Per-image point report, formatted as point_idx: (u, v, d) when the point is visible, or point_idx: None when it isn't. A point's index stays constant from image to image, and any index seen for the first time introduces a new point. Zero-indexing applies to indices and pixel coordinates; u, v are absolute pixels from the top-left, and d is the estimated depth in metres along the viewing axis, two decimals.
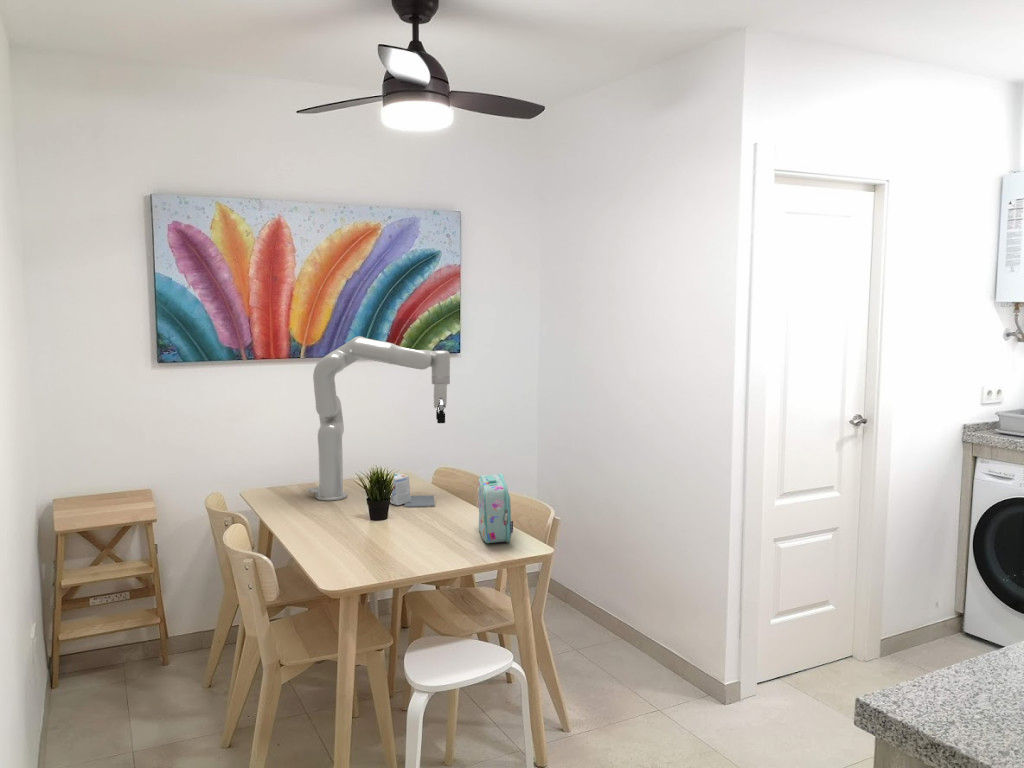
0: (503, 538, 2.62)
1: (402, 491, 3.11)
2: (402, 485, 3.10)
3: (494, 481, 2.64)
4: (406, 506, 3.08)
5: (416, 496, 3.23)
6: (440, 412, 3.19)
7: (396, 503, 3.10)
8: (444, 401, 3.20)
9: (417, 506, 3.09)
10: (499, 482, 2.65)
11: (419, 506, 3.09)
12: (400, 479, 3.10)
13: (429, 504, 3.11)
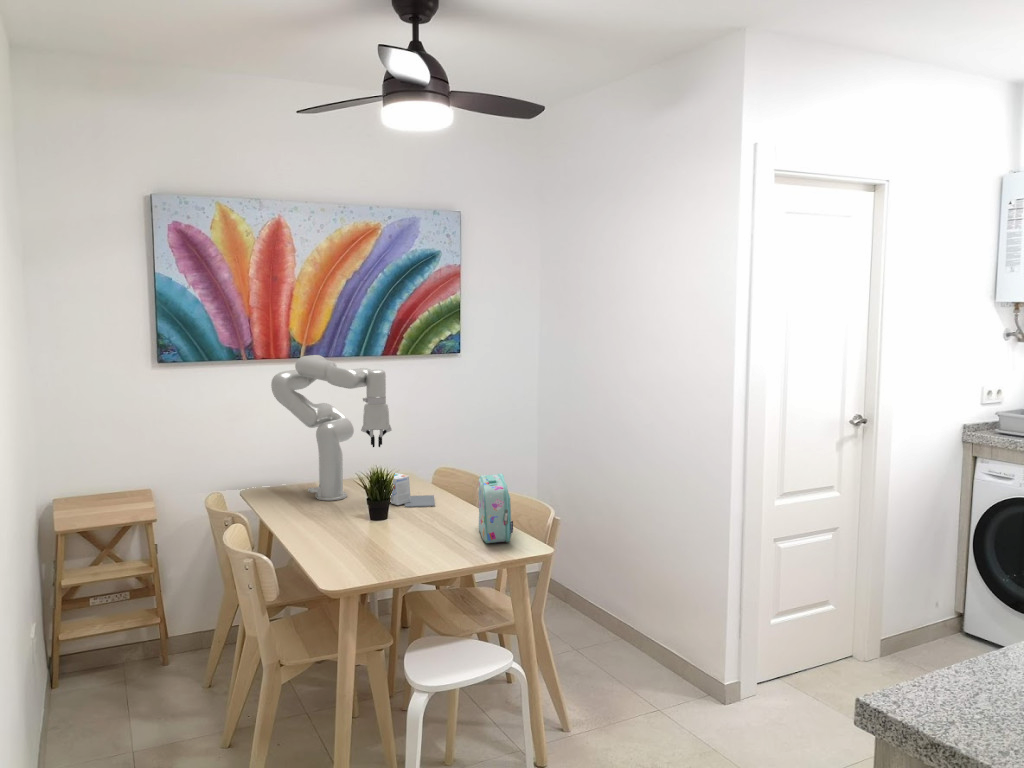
0: (503, 538, 2.62)
1: (402, 491, 3.11)
2: (402, 485, 3.11)
3: (494, 481, 2.64)
4: (406, 506, 3.08)
5: (416, 496, 3.23)
6: None
7: (396, 503, 3.10)
8: None
9: (417, 506, 3.09)
10: (499, 482, 2.65)
11: (419, 506, 3.09)
12: (400, 479, 3.10)
13: (429, 504, 3.11)
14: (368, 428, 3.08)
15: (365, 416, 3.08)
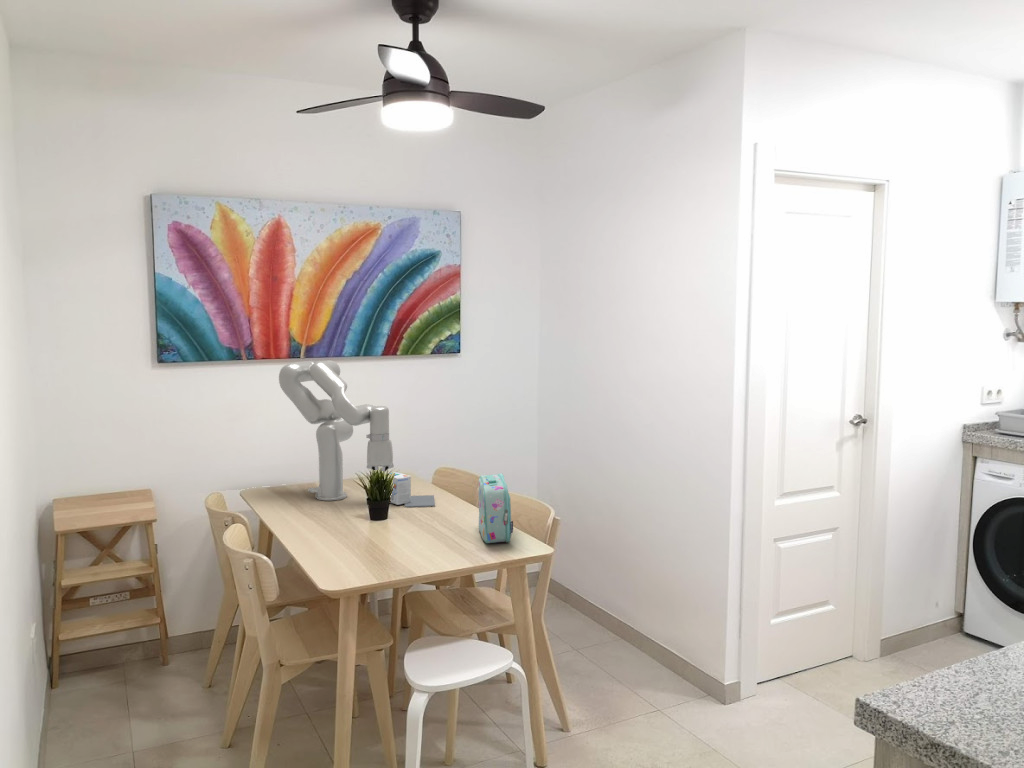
0: (503, 538, 2.62)
1: (403, 491, 3.11)
2: (403, 485, 3.11)
3: (494, 481, 2.64)
4: (406, 506, 3.08)
5: (416, 496, 3.23)
6: None
7: (396, 502, 3.10)
8: None
9: (417, 506, 3.09)
10: (499, 482, 2.65)
11: (419, 506, 3.09)
12: (401, 478, 3.10)
13: (429, 504, 3.11)
14: (372, 465, 3.10)
15: (369, 453, 3.09)
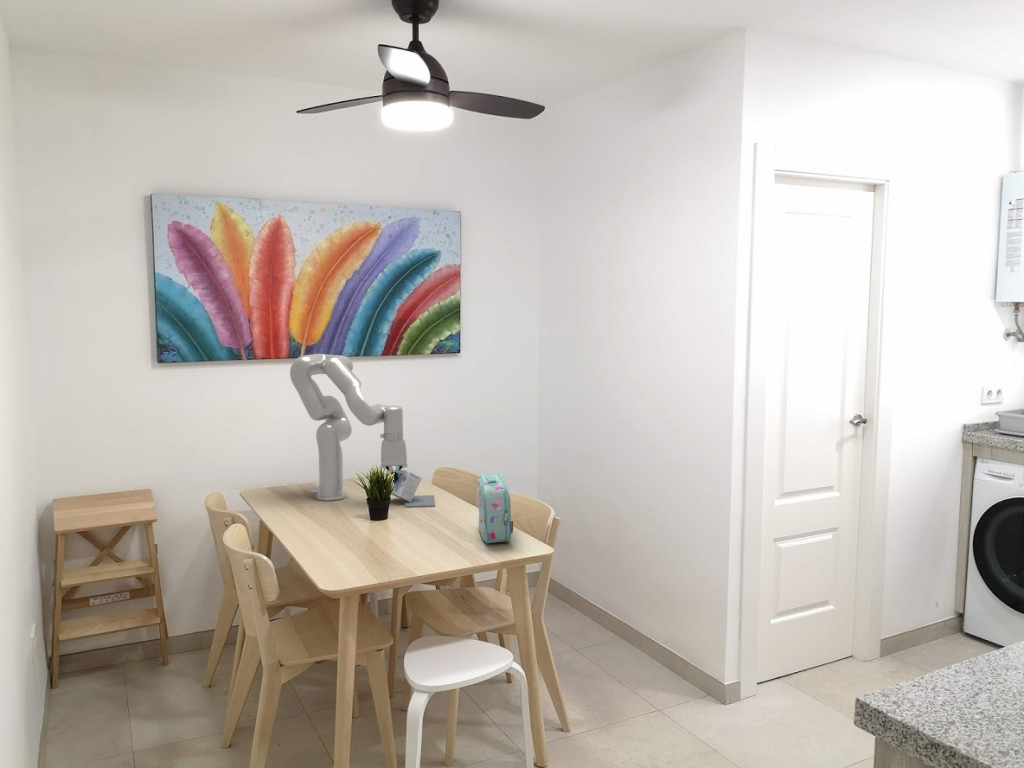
0: (503, 538, 2.62)
1: (410, 487, 3.13)
2: (413, 481, 3.13)
3: (494, 481, 2.64)
4: (406, 506, 3.08)
5: (416, 496, 3.23)
6: (399, 470, 3.14)
7: (399, 494, 3.11)
8: None
9: (417, 506, 3.09)
10: (499, 482, 2.65)
11: (419, 506, 3.09)
12: (414, 474, 3.14)
13: (429, 504, 3.11)
14: (386, 464, 3.11)
15: (383, 452, 3.10)
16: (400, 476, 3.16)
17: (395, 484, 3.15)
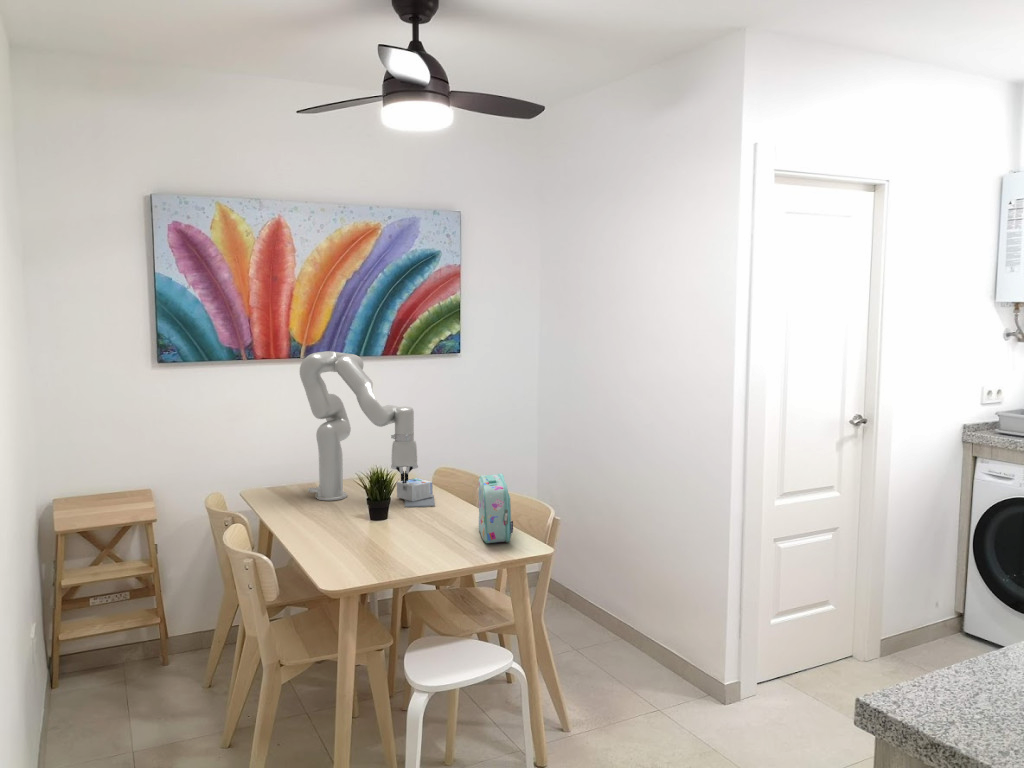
0: (503, 538, 2.62)
1: (422, 490, 3.17)
2: (427, 490, 3.19)
3: (494, 481, 2.64)
4: (406, 506, 3.08)
5: None
6: (409, 471, 3.15)
7: (412, 485, 3.14)
8: None
9: (417, 506, 3.09)
10: (499, 482, 2.65)
11: (419, 506, 3.09)
12: (432, 487, 3.21)
13: (429, 504, 3.11)
14: (396, 465, 3.11)
15: (393, 453, 3.11)
16: (418, 480, 3.23)
17: (411, 481, 3.20)
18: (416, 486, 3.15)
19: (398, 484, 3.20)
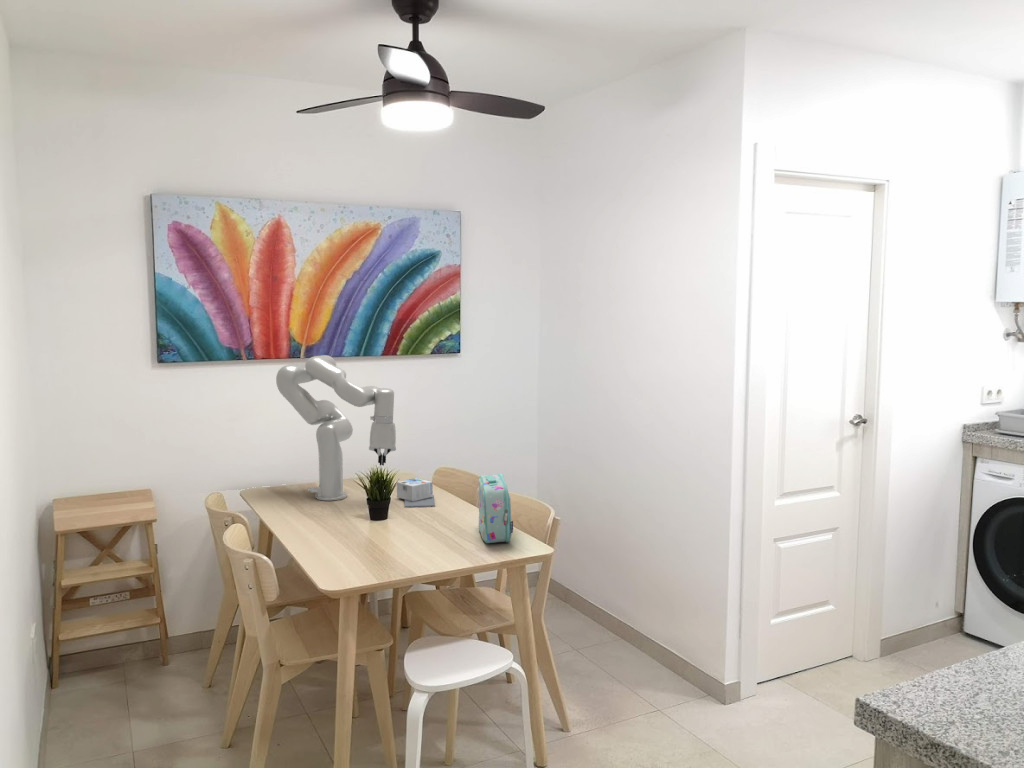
0: (503, 538, 2.62)
1: (422, 490, 3.17)
2: (427, 490, 3.19)
3: (494, 481, 2.64)
4: (406, 506, 3.08)
5: None
6: (387, 453, 3.13)
7: (412, 485, 3.14)
8: None
9: (417, 506, 3.09)
10: (499, 482, 2.65)
11: (419, 506, 3.09)
12: (432, 487, 3.21)
13: (429, 504, 3.11)
14: (374, 447, 3.10)
15: (372, 435, 3.09)
16: (418, 480, 3.23)
17: (411, 481, 3.20)
18: (416, 486, 3.15)
19: (398, 484, 3.20)
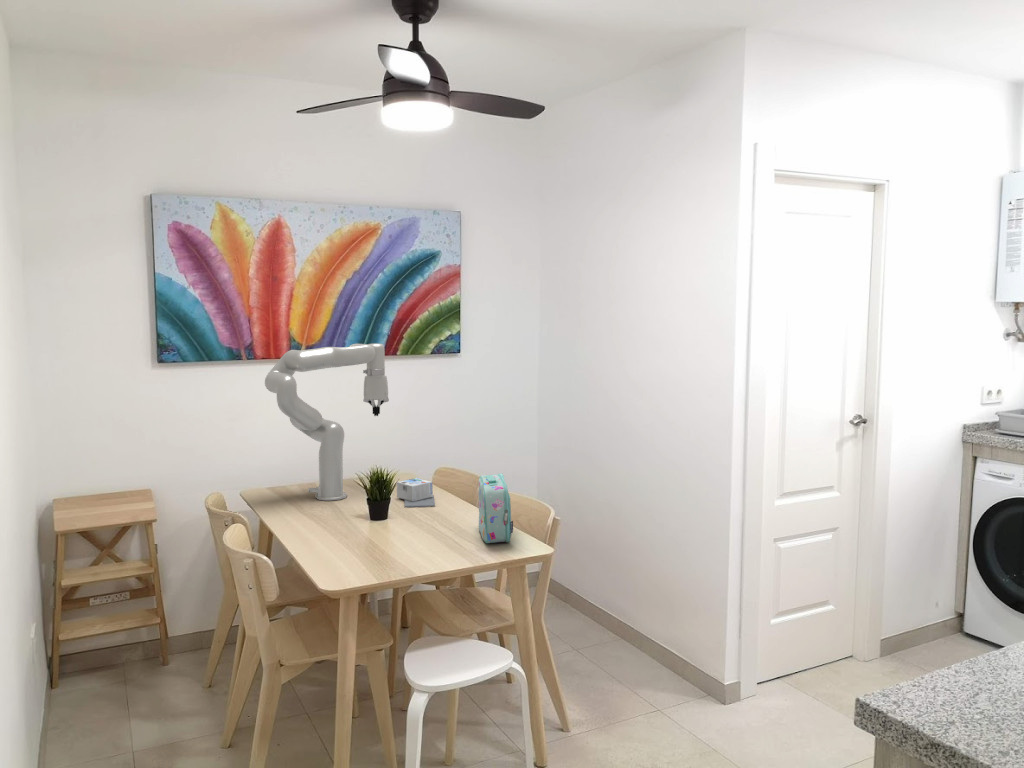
0: (503, 538, 2.62)
1: (422, 490, 3.17)
2: (427, 490, 3.19)
3: (494, 481, 2.64)
4: (406, 506, 3.08)
5: None
6: (381, 404, 3.33)
7: (412, 485, 3.14)
8: None
9: (417, 506, 3.09)
10: (499, 482, 2.65)
11: (419, 506, 3.09)
12: (432, 487, 3.21)
13: (429, 504, 3.11)
14: (368, 398, 3.29)
15: (365, 387, 3.29)
16: (418, 480, 3.23)
17: (411, 481, 3.20)
18: (416, 486, 3.15)
19: (398, 484, 3.20)
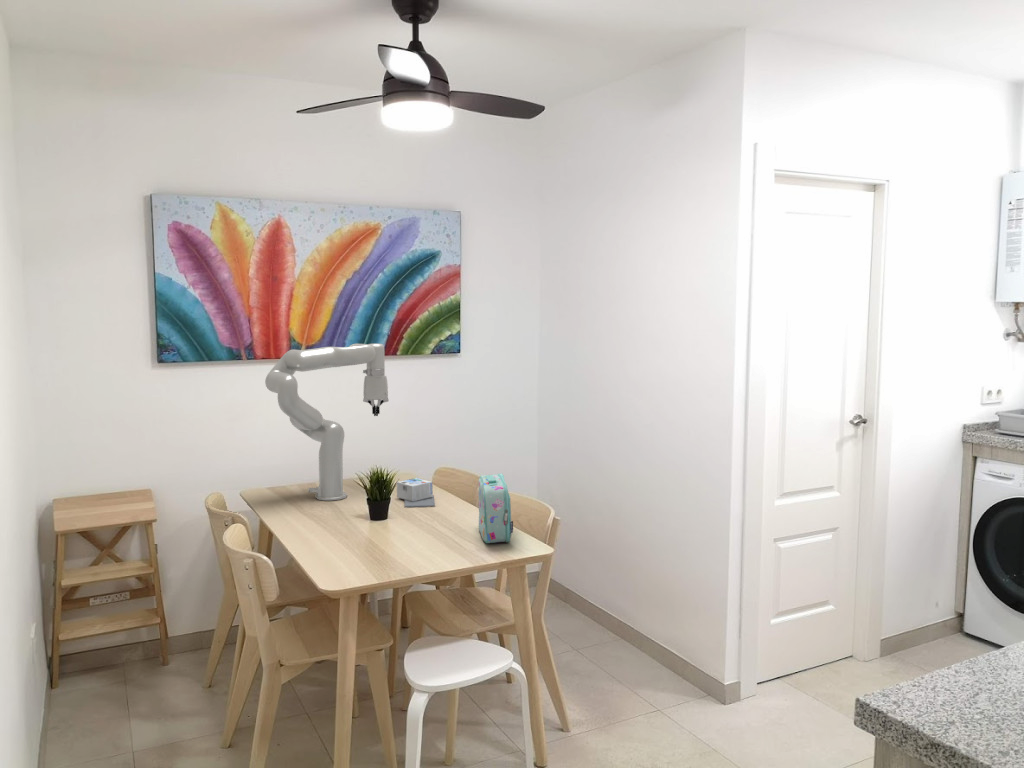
0: (503, 538, 2.62)
1: (422, 490, 3.17)
2: (427, 490, 3.19)
3: (494, 481, 2.64)
4: (406, 506, 3.08)
5: None
6: (380, 404, 3.33)
7: (412, 485, 3.14)
8: None
9: (417, 506, 3.09)
10: (499, 482, 2.65)
11: (419, 506, 3.09)
12: (432, 487, 3.21)
13: (429, 504, 3.11)
14: (368, 398, 3.30)
15: (365, 387, 3.29)
16: (418, 480, 3.23)
17: (411, 481, 3.20)
18: (416, 486, 3.15)
19: (398, 484, 3.20)
